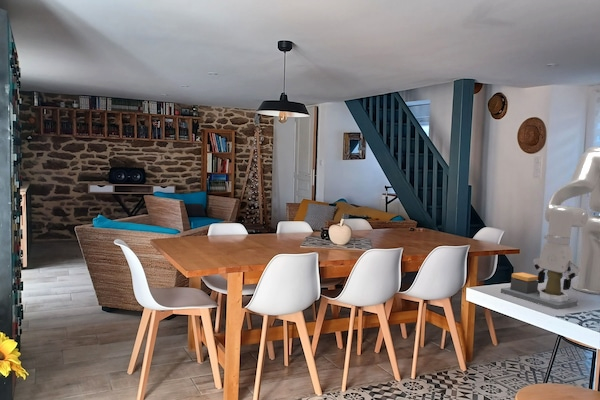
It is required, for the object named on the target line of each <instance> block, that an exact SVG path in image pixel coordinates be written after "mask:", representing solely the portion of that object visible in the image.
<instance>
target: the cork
mask: <svg viewBox="0 0 600 400" xmlns="http://www.w3.org/2000/svg"><path fill="white" fill-rule="evenodd" d="M546 276H547V281H546V286H545V292H544V293H548V294H553V295H561V291H562V289H561V288H562V286H561V285H562V283H561V279H563V277H564V274H563V273H558V272H553V271H549V270H547V271H546Z"/></svg>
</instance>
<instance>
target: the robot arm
mask: <svg viewBox="0 0 600 400" xmlns="http://www.w3.org/2000/svg"><path fill="white" fill-rule="evenodd" d="M589 193H590V194H589ZM586 194H589V199H588V200H589V201H588V206H589V209H590V210H591V211H593V212H596V213H600V146H593V147H592V146H591V147H588V148H587V149H586V150H585V152H584V153H582V154H581V156H580V158H579V160H578V163H577V165H576V167H575V170H574V172H573V174H572V178H571V180H570V181H569V182H568V183H566V184H565V185H562V186H561V187H560V188H559V189H557V190H556V191H554V193H553V194H552V195H551V197H550V198H549V201H548V203H547V204H546V209H545V211H544V219H545V220H546V222H547V223H548V227H547V235H546V234H545V235H544V236H543V239H545V240H546V242H544V243H543V245H542V248H541V252H540V255H539V256H540V257H536V258H534V259H533V260H532V262H533V265H534V268H535V269H536V272H537V274H538V275H537V276H538V280H537V281H538V284H543V283H545V281H546V272H545V271H548V270H549V271H553V272H558V273H563V277H564V278H563V284H562V291H563V290H564V291H567V290H568V291H569V290H570V288H571V285H572V289H574V290H576V291H579V292H583V293H585V294H586V293H587V294H593V295H600V215H594V214H593V215H588V212H587V211H586V209H584V208H582V207H579V206H578V207H577V206H569V205H562V204H563V203H564V202H566V201H567V200H569V199H571V198H576V197H579V196H583V195H586ZM572 228H580V229H581V246H580V247H581V248H580V257H579V263H578V264H579V265H578V266H577V265H575V264H574V263H573V251H572V245H570V243H571V234H572ZM571 270H573V272H571ZM576 277H577V281H576V283H574V284H572V280H573V279H574V278H576Z"/></svg>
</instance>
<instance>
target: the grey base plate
mask: <svg viewBox="0 0 600 400" xmlns="http://www.w3.org/2000/svg"><path fill="white" fill-rule="evenodd" d="M537 289H539V283H538V280H535V281H523V280H519V279H517V278H513V277H511V278H510V287H509V286H508V287H504V288H501V289H500V293H502V294H505V295H508V296H512V297H515V298H518V299H522V300H525V301H528V302H531V301H532V303H536V304H538V303H539V305H541V304H542V305H541V306H545V307H548V306H549V307H548V308H551V307H552V309H554V310H560V309H566V308H571V307H576V306H578V301H577V300H573V299H570V298H568V302H564V303H558V302H549V301H546V300H543V299H539V298H538V297H537Z"/></svg>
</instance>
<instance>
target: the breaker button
mask: <svg viewBox="0 0 600 400" xmlns="http://www.w3.org/2000/svg"><path fill="white" fill-rule="evenodd" d="M511 278H517V279H519V280H523V281H535V280H537V281H538V275H534V274H531V273H528V272H524V271H523V272H514V273H511Z"/></svg>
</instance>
